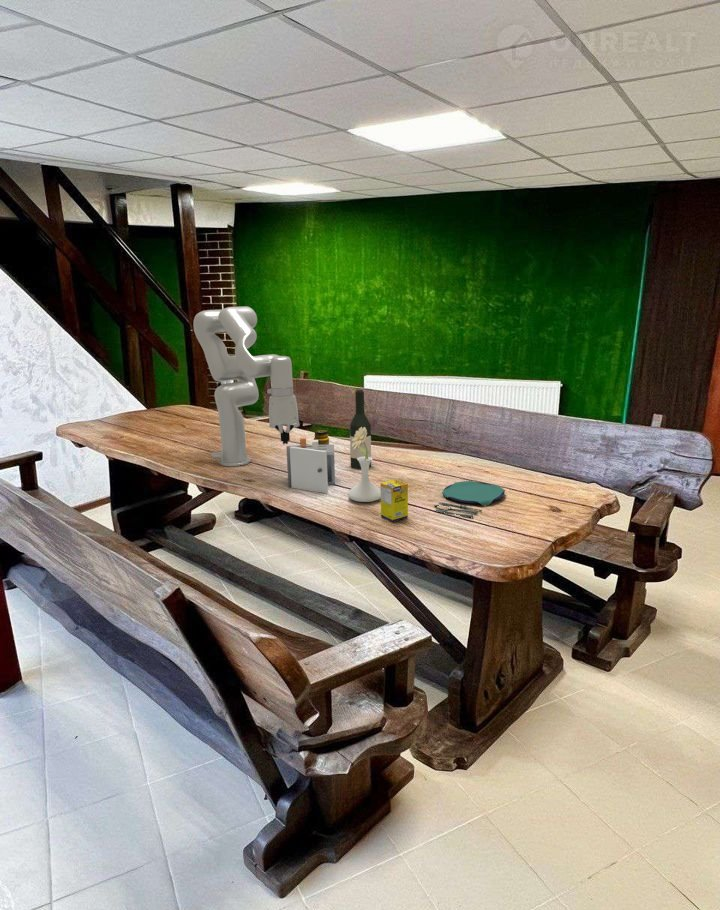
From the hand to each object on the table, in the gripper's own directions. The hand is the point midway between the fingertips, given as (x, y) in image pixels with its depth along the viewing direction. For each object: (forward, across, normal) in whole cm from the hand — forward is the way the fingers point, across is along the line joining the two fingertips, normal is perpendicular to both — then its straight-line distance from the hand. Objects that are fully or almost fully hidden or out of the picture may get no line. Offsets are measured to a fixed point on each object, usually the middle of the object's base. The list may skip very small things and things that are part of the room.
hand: (285, 443), depth 217 cm
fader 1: (+1, +6, 0) cm, 6 cm away
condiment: (+14, +11, +24) cm, 30 cm away
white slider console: (+14, +9, -3) cm, 17 cm away
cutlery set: (+15, +60, -27) cm, 67 cm away
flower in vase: (+14, +27, -24) cm, 39 cm away
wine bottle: (+14, +27, +14) cm, 33 cm away
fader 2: (+1, +11, -4) cm, 11 cm away
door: (+14, +8, -13) cm, 20 cm away
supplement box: (+15, +35, -40) cm, 55 cm away
